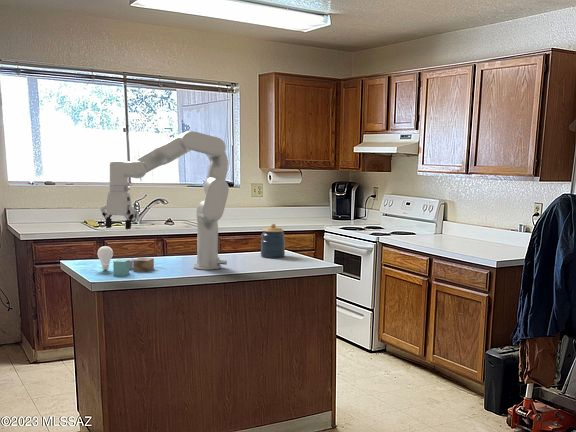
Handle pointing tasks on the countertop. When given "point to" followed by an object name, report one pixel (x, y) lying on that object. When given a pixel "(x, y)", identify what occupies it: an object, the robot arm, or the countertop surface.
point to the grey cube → (130, 263)
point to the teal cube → (121, 267)
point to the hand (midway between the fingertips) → (118, 228)
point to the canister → (273, 242)
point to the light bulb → (105, 256)
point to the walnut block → (143, 264)
